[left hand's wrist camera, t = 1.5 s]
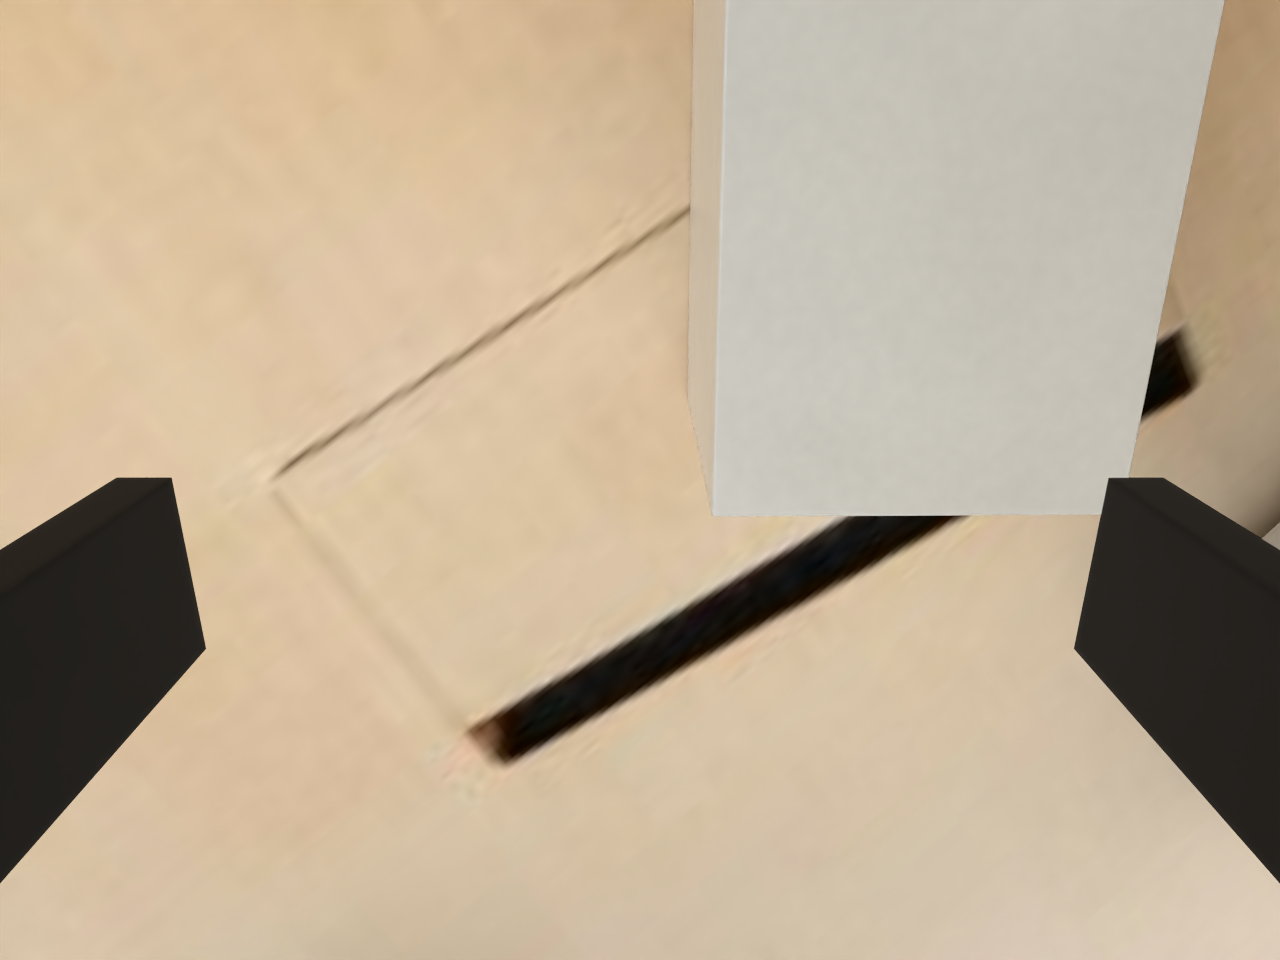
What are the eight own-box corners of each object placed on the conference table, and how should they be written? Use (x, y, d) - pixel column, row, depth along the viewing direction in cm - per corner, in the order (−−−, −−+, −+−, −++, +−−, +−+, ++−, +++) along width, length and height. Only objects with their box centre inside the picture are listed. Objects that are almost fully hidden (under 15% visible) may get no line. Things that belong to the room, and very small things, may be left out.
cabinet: (695, -128, 27) (733, -319, 16) (1031, -129, 27) (1291, -320, 16) (687, 401, 32) (711, 517, 22) (963, 399, 32) (1122, 515, 22)
